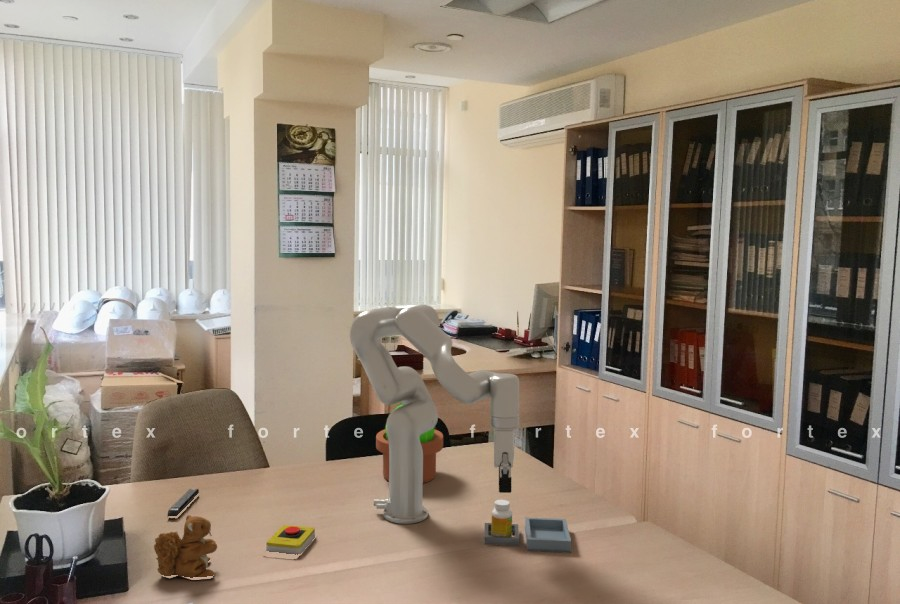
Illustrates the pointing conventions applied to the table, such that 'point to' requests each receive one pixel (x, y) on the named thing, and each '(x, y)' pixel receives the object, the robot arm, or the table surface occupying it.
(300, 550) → the emergency button
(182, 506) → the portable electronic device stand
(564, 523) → the tray
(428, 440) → the potted cactus
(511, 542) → the cradle
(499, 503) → the supplement bottle
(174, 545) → the stuffed squirrel
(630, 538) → the table surface
